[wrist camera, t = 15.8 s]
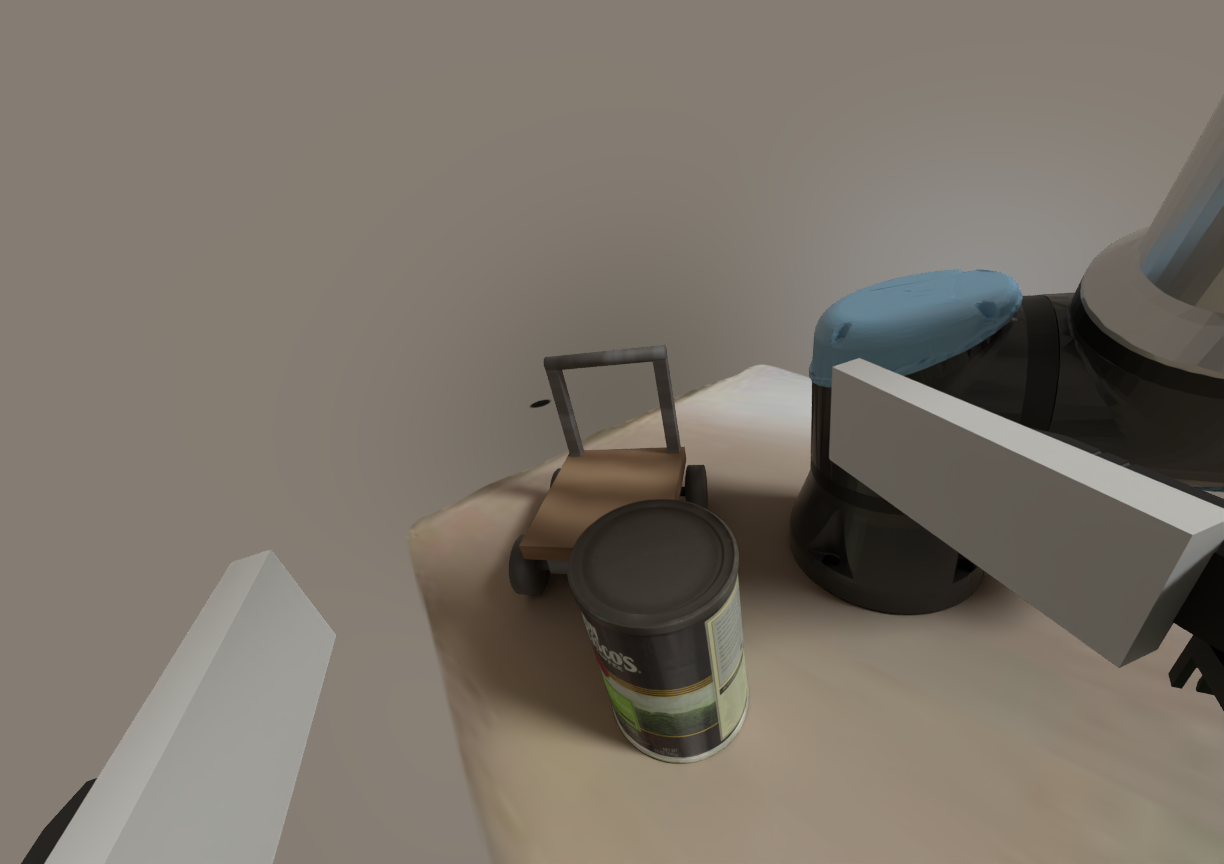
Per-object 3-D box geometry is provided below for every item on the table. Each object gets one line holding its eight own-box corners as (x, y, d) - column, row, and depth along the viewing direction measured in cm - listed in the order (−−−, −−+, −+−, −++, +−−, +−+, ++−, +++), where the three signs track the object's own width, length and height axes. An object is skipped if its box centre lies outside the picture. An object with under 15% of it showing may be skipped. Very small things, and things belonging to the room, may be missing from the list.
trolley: (572, 496, 59) (530, 354, 49) (708, 495, 54) (689, 337, 44) (520, 606, 45) (448, 440, 36) (695, 619, 40) (664, 430, 31)
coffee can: (660, 801, 29) (618, 663, 22) (589, 674, 38) (541, 544, 31) (783, 705, 33) (778, 560, 26) (692, 608, 41) (671, 478, 34)
